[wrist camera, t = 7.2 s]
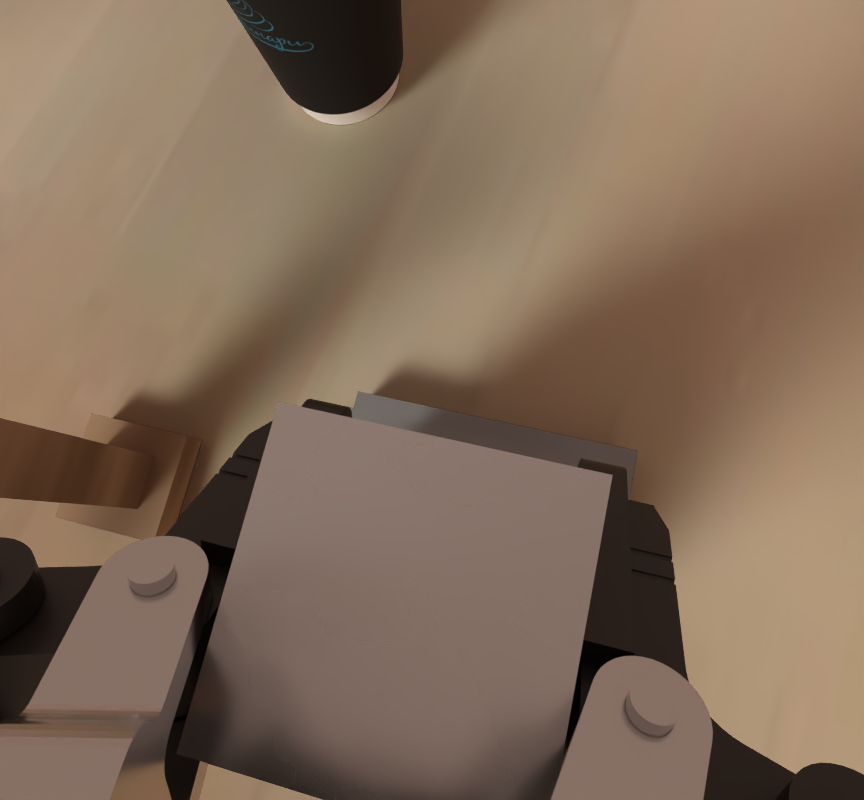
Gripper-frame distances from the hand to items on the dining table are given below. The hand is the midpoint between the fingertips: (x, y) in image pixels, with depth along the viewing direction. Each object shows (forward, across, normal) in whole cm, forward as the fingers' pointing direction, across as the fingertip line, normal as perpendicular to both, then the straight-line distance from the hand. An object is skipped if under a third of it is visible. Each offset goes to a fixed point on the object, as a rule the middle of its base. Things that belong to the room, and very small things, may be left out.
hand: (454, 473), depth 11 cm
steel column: (+6, 0, +9) cm, 10 cm away
